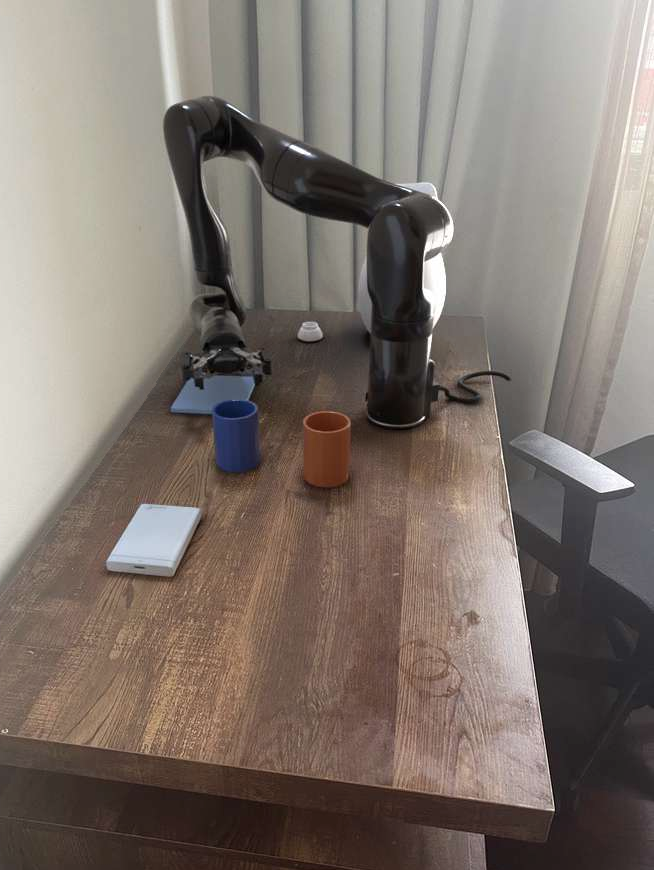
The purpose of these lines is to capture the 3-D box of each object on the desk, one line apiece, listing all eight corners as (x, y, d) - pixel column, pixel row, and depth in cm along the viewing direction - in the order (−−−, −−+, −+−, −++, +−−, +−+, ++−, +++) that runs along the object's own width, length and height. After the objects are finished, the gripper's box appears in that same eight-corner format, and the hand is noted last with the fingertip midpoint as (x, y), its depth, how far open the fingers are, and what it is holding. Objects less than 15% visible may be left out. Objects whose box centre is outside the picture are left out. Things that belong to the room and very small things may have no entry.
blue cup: (250, 447, 112) (248, 396, 107) (266, 466, 107) (264, 413, 102) (210, 456, 110) (206, 404, 105) (224, 476, 105) (220, 422, 100)
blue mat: (191, 378, 134) (191, 374, 134) (256, 380, 132) (256, 376, 132) (170, 412, 123) (170, 408, 122) (241, 415, 121) (241, 411, 120)
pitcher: (358, 320, 158) (363, 180, 142) (439, 322, 155) (453, 180, 140) (352, 363, 138) (357, 206, 123) (444, 366, 136) (461, 207, 120)
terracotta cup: (336, 460, 108) (337, 407, 103) (356, 481, 103) (358, 427, 98) (296, 469, 106) (295, 416, 101) (314, 491, 101) (314, 436, 96)
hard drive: (140, 502, 97) (105, 559, 86) (201, 507, 95) (172, 566, 85) (142, 513, 97) (107, 571, 87) (202, 518, 96) (173, 577, 86)
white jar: (293, 341, 148) (316, 344, 147) (293, 326, 147) (316, 330, 145) (303, 332, 152) (326, 335, 150) (303, 318, 151) (326, 321, 149)
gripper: (179, 325, 123) (180, 362, 110) (263, 319, 125) (275, 356, 111) (183, 367, 128) (184, 408, 114) (265, 361, 129) (276, 401, 115)
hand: (229, 382), depth 113 cm, fingers open, 8 cm apart
